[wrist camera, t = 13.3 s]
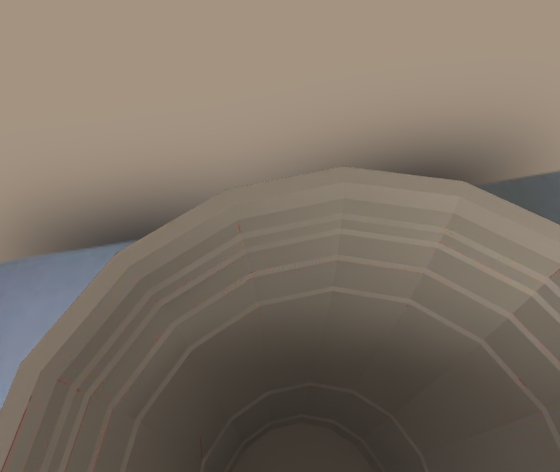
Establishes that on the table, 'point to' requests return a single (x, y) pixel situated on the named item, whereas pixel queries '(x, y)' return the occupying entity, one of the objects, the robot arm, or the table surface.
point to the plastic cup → (307, 338)
